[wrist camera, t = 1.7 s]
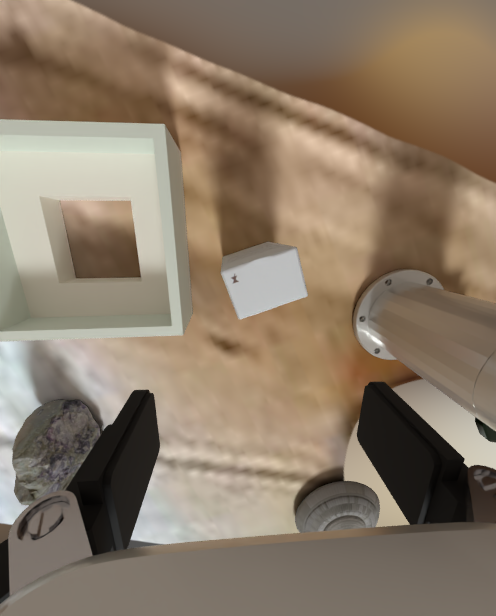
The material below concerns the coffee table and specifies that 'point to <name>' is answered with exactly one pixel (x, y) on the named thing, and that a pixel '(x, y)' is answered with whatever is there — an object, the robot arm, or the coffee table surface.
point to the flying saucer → (338, 508)
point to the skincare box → (263, 278)
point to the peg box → (53, 238)
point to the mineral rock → (52, 448)
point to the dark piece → (486, 430)
